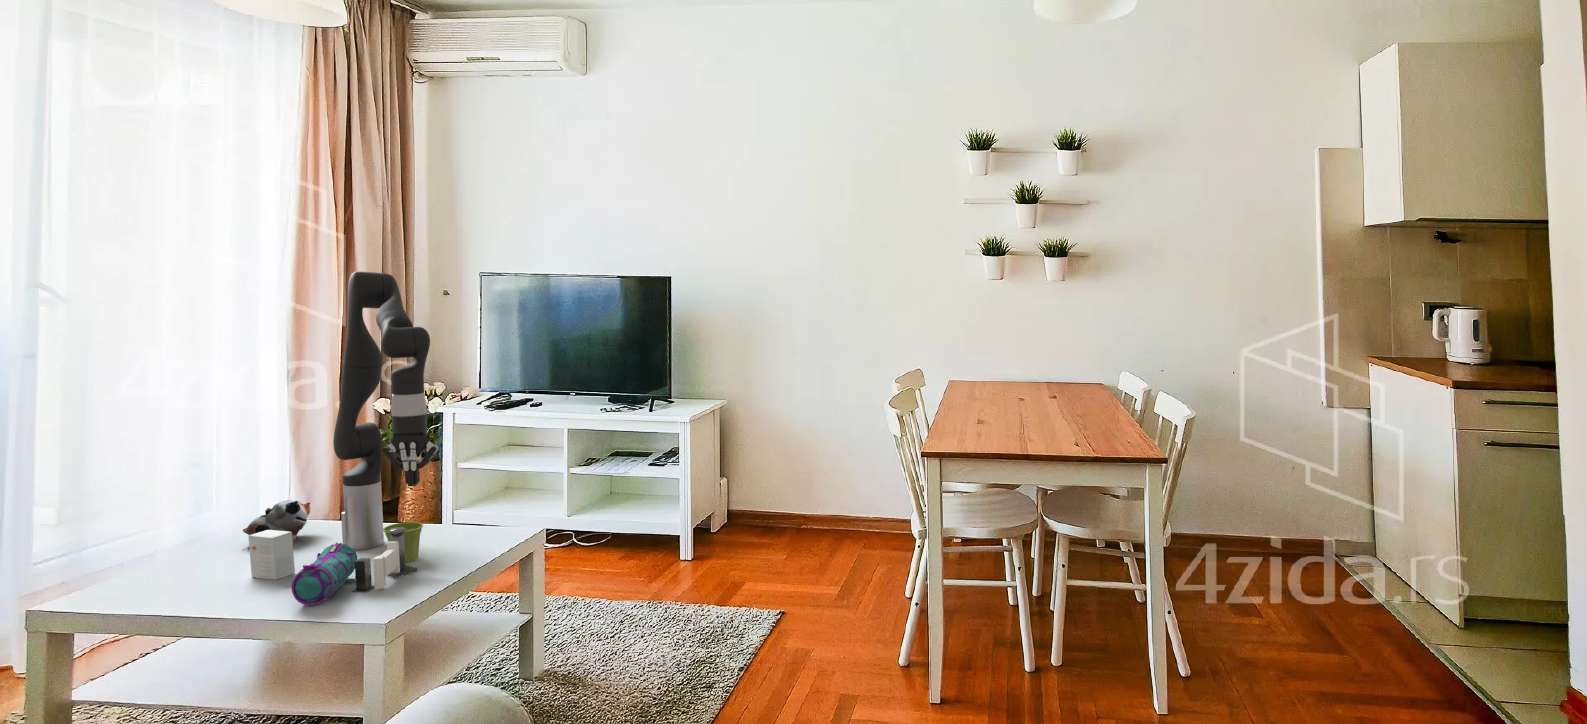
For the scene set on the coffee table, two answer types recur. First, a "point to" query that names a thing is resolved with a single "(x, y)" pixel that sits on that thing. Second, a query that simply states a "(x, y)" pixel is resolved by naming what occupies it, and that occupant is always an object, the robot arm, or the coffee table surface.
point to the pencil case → (324, 574)
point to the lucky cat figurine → (281, 518)
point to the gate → (386, 564)
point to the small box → (271, 554)
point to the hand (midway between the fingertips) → (412, 485)
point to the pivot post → (400, 552)
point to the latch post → (363, 575)
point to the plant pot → (408, 538)
